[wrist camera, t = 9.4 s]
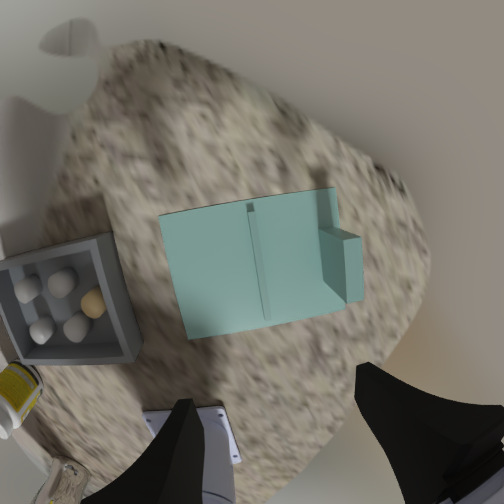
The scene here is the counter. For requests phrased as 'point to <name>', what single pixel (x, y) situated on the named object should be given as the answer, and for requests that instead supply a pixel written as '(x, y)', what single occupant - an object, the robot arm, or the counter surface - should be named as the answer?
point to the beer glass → (63, 483)
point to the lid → (261, 262)
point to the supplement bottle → (17, 395)
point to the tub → (69, 304)
